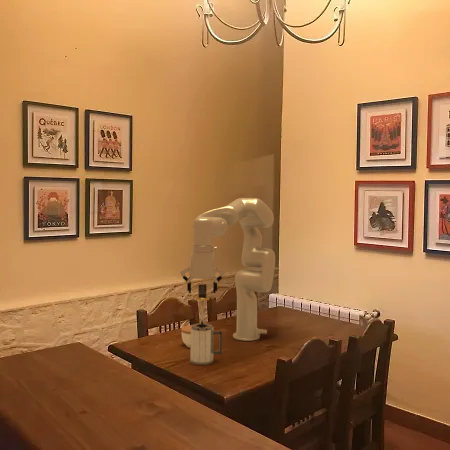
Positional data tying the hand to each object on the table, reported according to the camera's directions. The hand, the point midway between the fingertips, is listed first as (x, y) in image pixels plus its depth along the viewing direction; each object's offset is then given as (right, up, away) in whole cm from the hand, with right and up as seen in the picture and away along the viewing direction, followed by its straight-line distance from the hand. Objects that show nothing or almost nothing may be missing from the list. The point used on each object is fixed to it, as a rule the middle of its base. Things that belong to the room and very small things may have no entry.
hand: (202, 292), depth 197 cm
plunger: (0, -17, +1) cm, 17 cm away
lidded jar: (-5, -27, +23) cm, 35 cm away
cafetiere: (+1, -28, +2) cm, 28 cm away
